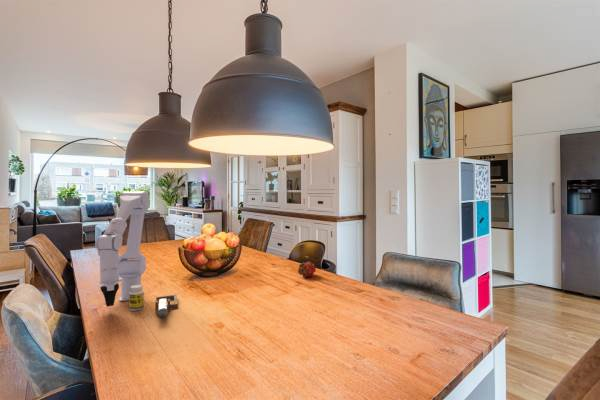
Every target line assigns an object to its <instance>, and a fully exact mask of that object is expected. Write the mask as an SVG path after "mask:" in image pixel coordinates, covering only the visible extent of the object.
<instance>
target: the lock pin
mask: <svg viewBox="0 0 600 400" xmlns="http://www.w3.org/2000/svg"><path fill="white" fill-rule="evenodd" d="M167 304H168V300H166V298H164V299H159V301H158V306H159V311H158V313H157V314H156V315H157V318H159V319H161V320H162V319H166V318H167V317H168V315H169V312H168V310H167Z"/></svg>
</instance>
